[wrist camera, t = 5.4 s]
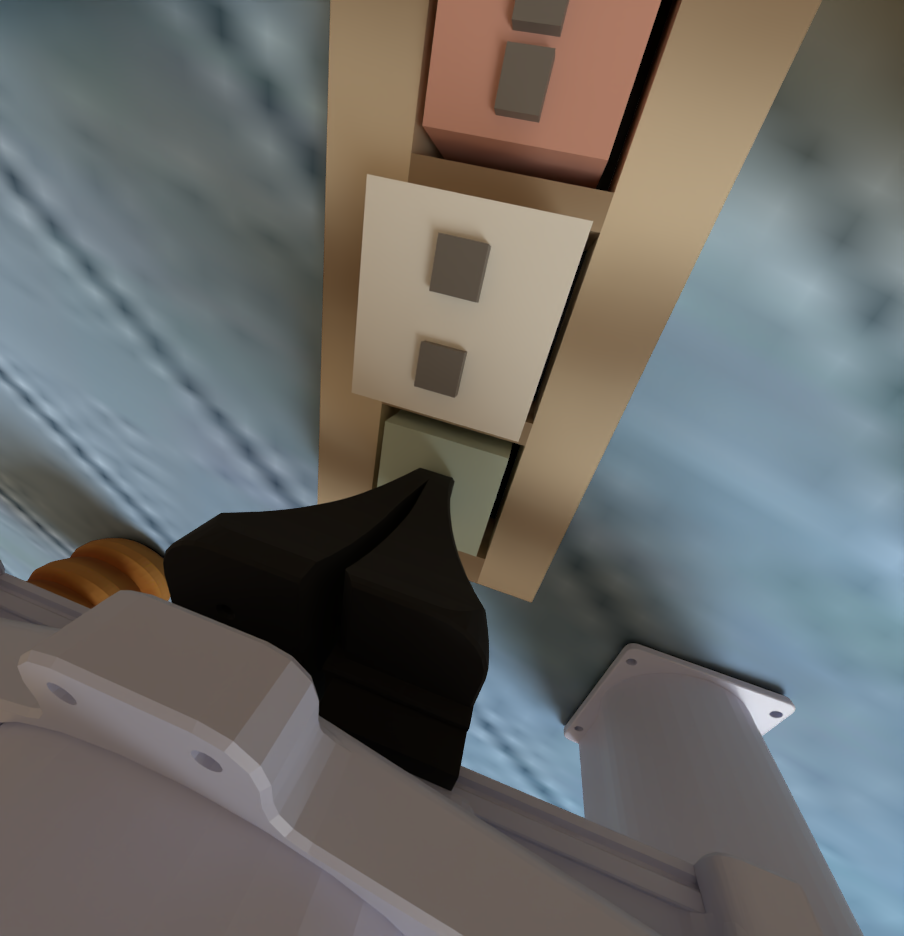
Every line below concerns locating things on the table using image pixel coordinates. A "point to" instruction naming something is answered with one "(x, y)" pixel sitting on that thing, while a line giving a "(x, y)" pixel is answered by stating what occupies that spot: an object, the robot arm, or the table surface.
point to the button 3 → (534, 83)
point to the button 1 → (448, 467)
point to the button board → (613, 212)
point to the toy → (104, 572)
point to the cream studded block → (459, 302)
